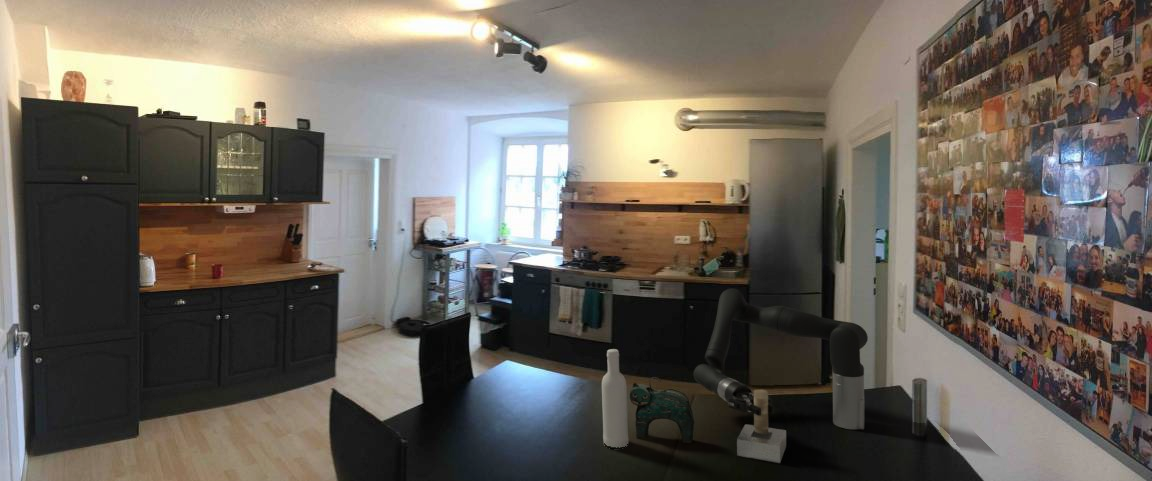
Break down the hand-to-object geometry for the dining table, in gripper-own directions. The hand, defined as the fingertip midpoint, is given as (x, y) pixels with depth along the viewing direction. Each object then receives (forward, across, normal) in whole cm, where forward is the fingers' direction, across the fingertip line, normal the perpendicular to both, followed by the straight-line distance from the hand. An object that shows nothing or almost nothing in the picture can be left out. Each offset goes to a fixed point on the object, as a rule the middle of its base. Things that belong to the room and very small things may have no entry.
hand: (766, 411), depth 164 cm
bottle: (-23, -39, +14) cm, 47 cm away
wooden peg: (-3, 0, +7) cm, 8 cm away
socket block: (-3, 0, +13) cm, 13 cm away
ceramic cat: (-22, -23, +14) cm, 35 cm away
